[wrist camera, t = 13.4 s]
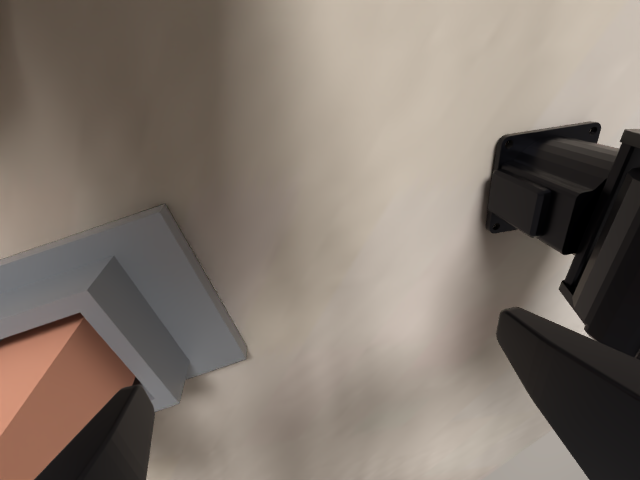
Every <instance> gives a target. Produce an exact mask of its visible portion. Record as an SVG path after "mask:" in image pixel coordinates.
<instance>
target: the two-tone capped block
mask: <svg viewBox="0 0 640 480" xmlns="http://www.w3.org/2000/svg"><path fill="white" fill-rule="evenodd" d="M135 377H136V376H135V375H134V374H133V373H132V372H131V371H130V370H129V368H128V367H127V366H126V365H125V364H124V363H123V361H122V360H121V359H120V358H119V357H118V356H117V355H116V353H115V352H114V351H113V350H112V349H111V348H110V346H109V345H108V344H107V343H106V342H105V341H104V340H103V338H102V337H101V336H100V335H99V334H98V333H97V331H96V330H95V329H94V328H93V327H92V326H91V325H90V323H89V322H88V321H87V320H86V319H85V318H84V316H83V315H82V314H81V313H77V314H74V315H71V316H68V317H65V318H62V319H59V320H56V321H53V322H50V323H47V324H44V325H42V326H39V327H36V328H33V329H30V330H27V331H24V332H21V333H18V334H15V335H12V336H9V337H6V338H3V339H2V340H1V341H0V480H34V479H35V478H36V477H37V476H38V475H39V474H40V473H41V472H42V471H43V470H44V468H45V467H46V466H47V465H48V464H49V463H50V462H51V461H52V460H53V459H54V458H55V457H56V456H57V455H58V454H59V453H60V452H61V451H62V450H63V449H64V447H65V446H66V445H67V444H68V443H69V442H70V441H71V440H72V439H73V438H74V437H75V436H76V435H77V434H78V433H79V432H80V431H81V430H82V429H83V428H84V426H85V425H86V424H87V423H88V422H89V421H90V420H91V419H92V418H93V417H94V416H95V415H96V414H97V413H98V412H99V411H100V410H101V409H102V408H103V407H104V405H105V404H106V403H107V402H108V401H109V400H110V399H111V398H112V397H113V396H114V395H115V394H116V393H117V392H118V391H119V390H120V389H122V388H124V387H128V386H132V384H133V382H134V379H135Z"/></svg>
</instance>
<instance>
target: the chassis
mask: <svg viewBox="0 0 640 480" xmlns="http://www.w3.org/2000/svg"><path fill="white" fill-rule="evenodd" d="M77 313H81V314H82V315H83V316H84V318H85V319H86V320H87V321H88V322H89V323H90V325H91V326H92V327H93V328H94V329H95V330H96V331H97V333H98V334H99V335H100V336H101V337H102V338H103V340H104V341H105V342H106V343H107V344H108V345H109V346H110V348H111V349H112V350H113V351H114V352H115V353H116V355H117V356H118V357H119V358H120V359H121V360H122V361H123V363H124V364H125V365H126V366H127V367H128V368H129V370H130V371H131V372H132V373H133V374H134V375H135V376H136V377H135V379H134V382H133V384H132V386H133V385H141V386H142V387H143V388H144V390H145V391H146V393H147V395H148V397H149V399H150V401H151V402H152V404H153V406H154V411H155V412H156V411H159V410H162V409H165V408H168V407H171V406H174V405H177V404H179V403H180V399H181V395H182V391H183V387H184V383H185V380H186V379H189V378H192V377H195V376H198V375H201V374H204V373H207V372H210V371H213V370H216V369H219V368H222V367H225V366H227V365H230V364H233V363H236V362H239V361H242V360H245V359H246V357H247V346H246V344H245V342H244V340H243V339H242V337H241V335H240V333H239V332H238V330H237V328H236V327H235V325H234V323H233V321H232V320H231V318H230V316H229V314H228V313H227V311H226V309H225V307H224V306H223V304H222V302H221V300H220V299H219V297H218V295H217V293H216V292H215V290H214V288H213V286H212V285H211V283H210V281H209V279H208V278H207V276H206V274H205V272H204V271H203V269H202V267H201V265H200V264H199V262H198V260H197V258H196V257H195V255H194V253H193V251H192V250H191V248H190V246H189V244H188V243H187V241H186V239H185V238H184V236H183V234H182V232H181V231H180V229H179V227H178V225H177V224H176V222H175V220H174V218H173V217H172V215H171V213H170V211H169V210H168V208H167V206H166V204H163V205H160V206H157V207H154V208H151V209H148V210H145V211H142V212H139V213H137V214H134V215H131V216H128V217H125V218H122V219H119V220H116V221H113V222H110V223H107V224H104V225H101V226H98V227H95V228H92V229H89V230H86V231H84V232H81V233H78V234H75V235H72V236H69V237H66V238H63V239H60V240H57V241H54V242H51V243H48V244H45V245H42V246H39V247H36V248H33V249H31V250H28V251H25V252H22V253H19V254H16V255H13V256H10V257H7V258H4V259H1V260H0V341H1V340H2V339H3V338H6V337H9V336H12V335H15V334H18V333H21V332H24V331H27V330H30V329H33V328H36V327H39V326H42V325H44V324H47V323H50V322H53V321H56V320H59V319H62V318H65V317H68V316H71V315H74V314H77Z"/></svg>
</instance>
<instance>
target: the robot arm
mask: <svg viewBox="0 0 640 480" xmlns="http://www.w3.org/2000/svg"><path fill="white" fill-rule="evenodd" d="M590 129H591V131H590ZM589 131H590V132H589ZM600 131H601V125H600V124H599V123H597V122H584V123H578V124H571V125H565V126H559V127H552V128H546V129H539V130H533V131H527V132H520V133H514V134H507V135H504V136H502V137H501V138H500V139H499V141H498V143H497V149H496V156H495V163H494V170H493V174H492V180H491V187H490V195H489V202H488V214H487V221H486V228H487V230H488V231H490V232H491V233H499V232H505V231H510V230H516V229H519V230H520V231H522V232H523V233H525V234H527V235H528V236H530V237H532V238H534V237H536V238H537V239H539V240H541V241H542V242H544V243H545V244H547V245H549V246H550V247H552V248H553V249H555V250H557V251H558V252H560V253H561V254H563V255H568V254H573V255H575V257H574V259H573V261H572V264H571V266H570V269H569V271H568V273H567V276H566V278H565V280H562V282H561V285H560V287H559V290H560V292H561V293H562V295H563V296H564V297H565V299H566V300H567V301H568V303H569V304H570V305H571V307H572V308H573V309H574V311H575V312H576V313H577V315H578V316H579V318H580V319H581V320H582V322H583V323H584V324H585V327H584V330H585V331H586V333H587V334H588V335H589V336H590V337H591V338H592V339H591V338H588V337H586V336H584V335H581V334H579V333H577V332H575V331H572V330H570V329H568V328H565V327H563V326H561V325H558V324H556V323H554V322H552V321H549V320H547V319H545V318H542V317H540V316H538V315H536V314H533V313H531V312H529V311H526V310H524V309H522V308H519V307H513V308H509V309H504V310H502V311H501V312H500V315H499V321H498V326H497V332H496V335H497V340H498V342H499V344H500V346H501V348H502V349H503V351H504V353H505V355H506V356H507V358H508V360H509V361H510V363H511V365H512V367H513V368H514V370H515V372H516V373H517V375H518V377H519V379H520V380H521V382H522V384H523V385H524V387H525V389H526V390H527V392H528V394H529V395H530V397H531V398H532V400H533V401H534V403H535V404H536V406H537V407H538V409H539V410H540V411H541V413H542V414H543V416H544V417H545V418H546V420H547V421H548V423H549V424H550V425H551V427H552V428H553V430H554V431H555V432H556V434H557V435H558V437H559V438H560V439H561V441H562V442H563V444H564V445H565V446H566V448H567V449H568V450H569V452H570V453H571V455H572V456H573V457H574V459H575V460H576V462H577V463H578V464H579V466H580V467H581V469H582V470H583V471H584V473H585V474H586V476H587V477H588V478H589V480H640V129H625V130H624V132H623V135H622V137H621V140H620V142H622V144H621V146H620V149H618V148H614V147H610V146H605V145H601V144H597V141H598V138H599V134H600ZM507 141H509V143H508V145H507V146H506V147H505V144H506V142H507ZM495 224H496V225H495ZM494 225H495V226H494ZM493 226H494V227H493ZM593 339H594V340H593ZM154 416H155V411H154V406H153V404H152V402H151V401H150V399H149V397H148V395H147V393H146V391H145V390H144V388H143V387H142V386H141V385H133V386H128V387H124V388H122V389H120V390H119V391H118V392H117V393H116V394H115V395H114V396H113V397H112V398H111V399H110V400H109V401H108V402H107V403H106V404H105V405H104V407H103V408H102V409H101V410H100V411H99V412H98V413H97V414H96V415H95V416H94V417H93V418H92V419H91V420H90V421H89V422H88V423H87V424H86V425H85V426H84V428H83V429H82V430H81V431H80V432H79V433H78V434H77V435H76V436H75V437H74V438H73V439H72V440H71V441H70V442H69V443H68V444H67V445H66V446H65V447H64V449H63V450H62V451H61V452H60V453H59V454H58V455H57V456H56V457H55V458H54V459H53V460H52V461H51V462H50V463H49V464H48V465H47V466H46V467H45V468H44V470H43V471H42V472H41V473H40V474H39V475H38V476H37V477H36V478H35V479H34V480H146V476H147V469H148V462H149V454H150V447H151V439H152V432H153V424H154Z"/></svg>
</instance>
